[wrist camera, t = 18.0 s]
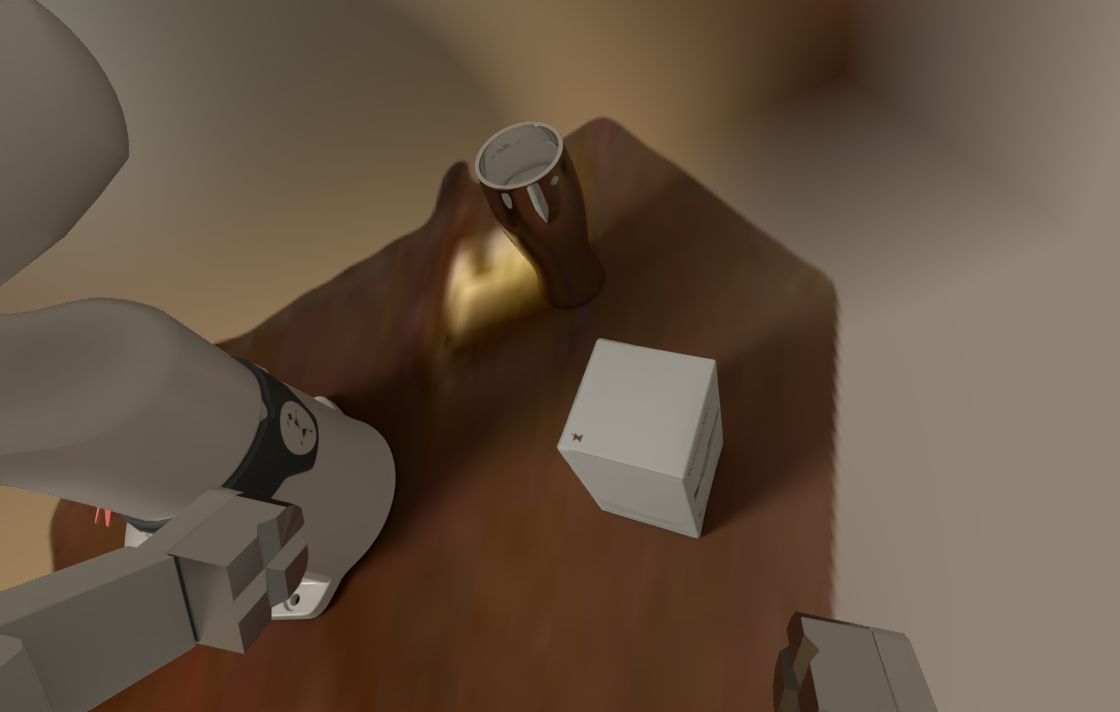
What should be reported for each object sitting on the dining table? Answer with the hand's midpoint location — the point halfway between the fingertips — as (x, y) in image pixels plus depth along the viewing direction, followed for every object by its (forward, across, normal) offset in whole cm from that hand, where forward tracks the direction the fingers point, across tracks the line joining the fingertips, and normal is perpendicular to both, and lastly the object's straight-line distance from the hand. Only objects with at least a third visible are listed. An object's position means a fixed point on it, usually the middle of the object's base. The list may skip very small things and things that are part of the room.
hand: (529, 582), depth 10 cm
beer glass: (+44, +7, +9) cm, 46 cm away
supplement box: (+30, -3, +18) cm, 35 cm away
